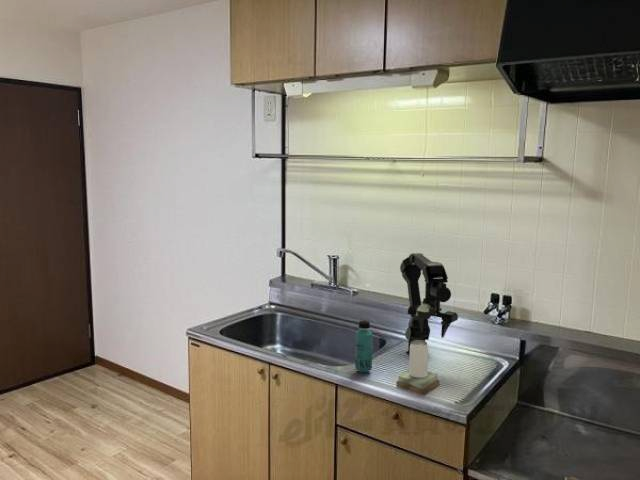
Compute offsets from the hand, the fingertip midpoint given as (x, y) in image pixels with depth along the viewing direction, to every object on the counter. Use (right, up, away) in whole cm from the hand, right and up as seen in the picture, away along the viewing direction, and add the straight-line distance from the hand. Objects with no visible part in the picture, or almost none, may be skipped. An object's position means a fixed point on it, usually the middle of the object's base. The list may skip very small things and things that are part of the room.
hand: (431, 335), depth 202 cm
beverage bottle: (-27, -14, -3) cm, 30 cm away
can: (-8, -12, -16) cm, 21 cm away
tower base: (-8, -15, -15) cm, 23 cm away
